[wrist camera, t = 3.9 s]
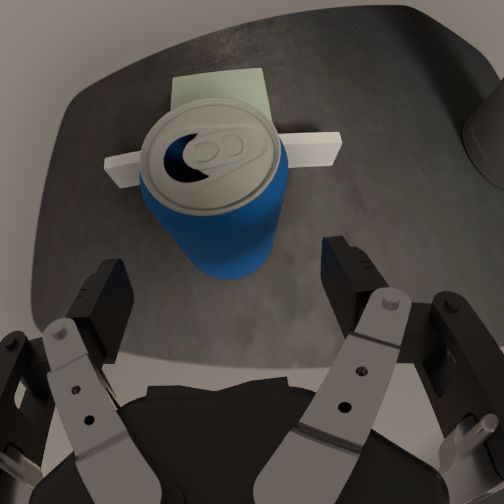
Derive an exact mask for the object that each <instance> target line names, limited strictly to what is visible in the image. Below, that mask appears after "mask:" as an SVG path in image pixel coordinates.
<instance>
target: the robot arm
mask: <svg viewBox="0 0 504 504" xmlns="http://www.w3.org/2000/svg"><path fill="white" fill-rule="evenodd" d="M462 137H463V142H464V145H465V148H466V151H467V153H468V155H469V157H470V159H471V160H472V162H473V163H474V165H475V166H476V168H477V169H478V170H479V172H480V173H481V174H482V175H483V176H484V177H485V178H486V179H487V180H488V181H489V182H491V183H492V184H493V185H495V186H497V187H499V188H502V189H504V77H503V79H502V80H501V81H500V82H499V84H498V85H497V86H496V87H495V89H494V90H493V91H492V92H491V94H490V95H489V96H488V97H487V98H486V100H485V101H484V102H483V103H482V104H481V105H480V107H479V108H478V109H477V110H476V111H475V113H474V114H473V115H472V116H471V117H470V118H469V120H468V121H467V122H466V123H465V124H464V126H463V129H462ZM321 281H322V285H323V288H324V290H325V292H326V294H327V297H328V299H329V302H330V304H331V306H332V309H333V311H334V313H335V316H336V318H337V321H338V323H339V325H340V328H341V330H342V333H343V335H344V338H345V342H344V344H343V346H342V348H341V350H340V352H339V353H338V355H337V357H336V359H335V361H334V363H333V365H332V366H331V368H330V370H329V372H328V374H327V376H326V377H325V379H324V381H323V383H322V384H321V386H320V388H319V390H318V391H317V393H316V392H313V391H311V390H307V389H304V388H299V387H291V386H289V385H288V380H287V377H279V378H271V379H262V380H253V381H249V382H246V383H242V384H239V385H236V386H233V387H229V388H226V389H222V390H218V391H209V390H203V389H197V388H191V387H186V386H181V385H177V386H148V389H147V394H146V396H144V397H141V398H138V399H135V400H133V401H131V402H129V403H127V404H125V405H122V404H121V402H120V400H119V399H118V397H117V395H116V394H115V392H114V390H113V388H112V386H111V385H110V383H109V381H108V379H107V377H106V375H105V374H104V372H103V371H102V366H103V364H115V360H116V357H117V354H118V351H119V347H120V344H121V341H122V337H123V334H124V331H125V328H126V325H127V322H128V319H129V316H130V313H131V310H132V307H133V303H134V294H133V289H132V286H131V284H130V281H129V278H128V275H127V272H126V269H125V266H124V263H123V261H122V260H121V259H112V260H104V261H102V263H101V265H100V266H99V268H98V270H97V272H96V273H93V274H92V275H91V276H90V277H89V278H88V279H87V280H86V281H85V282H84V284H83V286H82V288H81V291H79V293H78V295H77V298H75V300H74V302H73V304H72V305H71V307H70V309H69V311H68V313H67V315H66V317H65V318H61V319H58V320H56V321H54V322H52V323H51V324H50V325H48V327H47V328H46V329H45V330H44V333H43V337H41V338H37V339H33V340H30V341H29V340H28V339H27V337H26V335H25V334H24V333H23V332H22V331H14V332H12V333H10V334H8V335H7V336H5V337H4V338H3V339H2V341H1V342H0V504H465V503H467V502H469V501H480V500H483V499H484V498H486V497H488V496H490V495H492V494H493V493H495V492H497V491H499V490H500V489H502V488H503V487H504V354H503V353H502V351H501V350H500V348H499V346H498V345H497V343H496V342H495V340H494V339H493V337H492V336H491V334H490V333H489V331H488V330H487V328H486V327H485V325H484V324H483V323H482V321H481V320H480V318H479V317H478V316H477V314H476V313H475V311H474V310H473V309H472V307H471V306H470V305H469V303H468V302H467V301H466V300H465V299H464V298H463V297H462V296H461V295H459V294H457V293H454V292H449V291H443V292H439V293H438V294H436V295H435V297H434V299H433V302H432V304H429V303H414V302H411V300H410V298H409V297H408V295H407V294H405V293H404V292H402V291H401V290H398V289H395V288H390V287H389V286H388V284H387V283H386V281H385V280H384V278H383V277H382V275H381V274H380V273H379V271H378V270H377V268H375V265H374V264H373V263H372V262H371V260H370V258H369V257H368V256H367V254H366V253H365V252H364V251H362V250H360V249H359V248H357V247H350V246H349V245H348V243H347V242H346V240H345V239H344V237H343V236H332V237H324V238H323V240H322V255H321ZM450 352H451V353H450ZM451 354H452V355H451ZM452 356H453V357H452ZM453 358H454V359H453ZM454 360H455V361H454ZM455 362H456V363H455ZM396 363H414V365H415V368H416V370H417V372H418V374H419V377H420V379H421V381H422V384H423V386H424V388H425V391H426V393H427V395H428V398H429V400H430V403H431V405H432V408H433V410H434V412H435V415H436V418H437V420H438V423H439V426H440V428H441V431H442V433H443V436H444V439H445V440H444V441H443V442H442V444H441V445H440V448H439V452H438V453H439V454H438V457H439V471H437V470H436V469H434V468H433V467H432V466H430V465H429V464H427V463H425V462H424V461H422V460H420V459H419V458H417V457H415V456H414V455H412V454H411V453H409V452H407V451H405V450H404V449H402V448H401V447H399V446H398V445H396V444H395V443H393V442H391V441H390V440H388V439H386V438H385V437H384V436H382V435H380V434H379V433H377V432H376V431H374V430H373V429H371V428H372V425H373V423H374V421H375V418H376V416H377V413H378V411H379V408H380V406H381V403H382V401H383V398H384V395H385V393H386V390H387V387H388V384H389V382H390V379H391V376H392V373H393V370H394V367H395V364H396ZM20 381H21V382H22V384H23V385H24V386H25V387H26V391H25V394H24V397H23V399H22V402H21V406H20V408H19V409H18V408H17V407H16V405H15V401H14V395H15V392H16V389H17V387H18V384H19V382H20ZM55 405H56V407H57V410H58V413H59V415H60V418H61V421H62V423H63V426H64V429H65V431H66V434H67V436H68V438H69V441H70V443H71V446H72V448H73V450H74V451H73V452H72V453H71V454H70V455H68V456H67V457H66V458H65V459H64V460H63V461H62V462H61V463H60V464H59V465H58V466H56V467H55V468H54V469H53V470H52V471H51V472H50V473H49V474H48V475H47V476H46V477H44V478H43V475H42V472H41V465H42V459H43V455H44V450H45V445H46V441H47V436H48V432H49V428H50V424H51V420H52V416H53V412H54V409H55Z"/></svg>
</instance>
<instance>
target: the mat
mask: <svg viewBox="0 0 504 504" xmlns="http://www.w3.org/2000/svg"><path fill="white" fill-rule="evenodd" d="M209 97H226V98H232V99H237V100H240V101H243V102H246V103H248V104H250V105H252V106H254V107H256V108H257V109H259V110H260V111H261V112H263V113H264V114H265V115H266V116H267V117H268V118H269V119H270V120H271V122H272V118H271V113H270V107H269V102H268V97H267V92H266V87H265V82H264V77H263V72H262V68H252V69H238V70H227V71H218V72H209V73H201V74H194V75H187V76H181V77H175V78H173V82H172V96H171V110H172V109H174V108H176V107H178V106H180V105H182V104H185V103H187V102H190V101H193V100H197V99H201V98H209Z"/></svg>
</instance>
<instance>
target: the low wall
mask: <svg viewBox="0 0 504 504" xmlns="http://www.w3.org/2000/svg"><path fill="white" fill-rule="evenodd" d="M278 135H279V137H280V139H281V141H282V143H283V145H284V147H285V150H286V153H287V158H288V168H296V167H313V166H332V164H333V162H334V160H335V158H336V156H337V153H338V151H339V149H340V147H341V144H342V140H341V137H340V134H339V132H316V133H289V134H278ZM140 152H141V151H137V152H131V153H126V154H121V155H117V156H112V157H107V158H105V163H104V170H105V171H106V172H107V173H108V175H109V176H110V177H111V178H112V179H113V180H114V182H115V183H116V184H117V185H118V186H119V188H125V187H131V186H137V185H140V162H139V160H140Z"/></svg>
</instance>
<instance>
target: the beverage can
mask: <svg viewBox="0 0 504 504" xmlns="http://www.w3.org/2000/svg"><path fill="white" fill-rule="evenodd" d="M139 162H140V187H141V192H142V195H143V198H144V201H145V203H146V205H147V206H148V208H149V210H150V211H151V212H152V213H153V215H154V216H155V217H156V218H157V220H158V221H159V222H160V223H161V225H162V226H163V227H164V228H165V230H166V231H167V232H168V233H169V234H170V236H171V237H172V238H173V239H174V240H175V242H176V243H177V244H178V245H179V247H180V248H181V249H182V250H183V251H184V253H185V254H186V255H187V256H188V257H189V258H190V260H191V261H192V262H193V263H194V264H195V266H196V267H197V268H199V269H200V270H201V271H202V272H204V273H205V274H207V275H209V276H212V277H215V278H219V279H237V278H241V277H244V276H247V275H249V274H251V273H253V272H254V271H255V270H257V269H258V268H259V267H260V266H261V265H262V264H263V263H264V262H265V261H266V259H267V257H268V256H269V254H270V252H271V249H272V246H273V241H274V237H275V233H276V228H277V224H278V219H279V215H280V210H281V206H282V202H283V197H284V193H285V188H286V183H287V178H288V158H287V153H286V150H285V147H284V145H283V143H282V141H281V139H280V137H279V135H278V132H277V130H276V128H275V126H274V125H273V123H272V122H271V120H270V119H269V118H268V117H267V116H266V115H265V114H264V113H263V112H261V111H260V110H259V109H257V108H256V107H254V106H252V105H250V104H248V103H246V102H243V101H240V100H237V99H232V98H226V97H209V98H201V99H197V100H193V101H190V102H187V103H185V104H182V105H180V106H178V107H176V108H174V109H172V110H171V111H170V112H168V113H167V114H165V115H164V116H163V117H162V118H161V119H159V120H158V121H157V123H156V124H155V125H154V126H153V127H152V128H151V130H150V131H149V133H148V134H147V136H146V138H145V140H144V143H143V145H142V148H141V152H140V160H139Z"/></svg>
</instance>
